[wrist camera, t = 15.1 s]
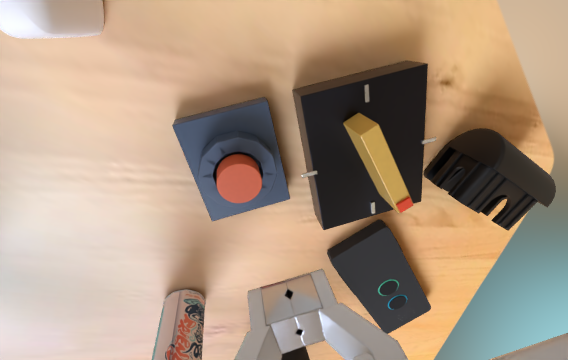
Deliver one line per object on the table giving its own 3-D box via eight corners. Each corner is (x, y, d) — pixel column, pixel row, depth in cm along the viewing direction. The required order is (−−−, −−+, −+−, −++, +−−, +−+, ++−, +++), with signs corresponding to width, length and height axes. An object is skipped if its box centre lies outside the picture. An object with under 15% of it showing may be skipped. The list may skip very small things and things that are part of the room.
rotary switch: (280, 92, 25) (287, 100, 22) (418, 57, 26) (441, 60, 23) (305, 217, 32) (313, 234, 29) (414, 185, 33) (431, 199, 30)
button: (211, 160, 23) (210, 170, 22) (253, 148, 24) (255, 158, 22) (224, 195, 25) (224, 208, 23) (263, 185, 25) (266, 196, 24)
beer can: (213, 303, 35) (209, 418, 25) (178, 319, 35) (160, 440, 25) (192, 280, 33) (178, 396, 22) (155, 297, 33) (124, 420, 22)
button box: (174, 119, 24) (168, 132, 21) (264, 96, 25) (270, 105, 22) (212, 211, 29) (211, 233, 26) (286, 191, 30) (294, 209, 27)
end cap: (512, 157, 34) (573, 183, 28) (469, 203, 36) (518, 237, 30) (462, 118, 30) (521, 139, 24) (418, 172, 32) (462, 204, 26)
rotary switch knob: (342, 122, 24) (361, 136, 21) (358, 112, 24) (380, 124, 21) (379, 194, 29) (399, 215, 25) (393, 185, 28) (415, 205, 25)
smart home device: (385, 336, 43) (328, 262, 33) (380, 326, 45) (323, 252, 35) (433, 309, 42) (389, 225, 33) (426, 299, 44) (382, 216, 34)
